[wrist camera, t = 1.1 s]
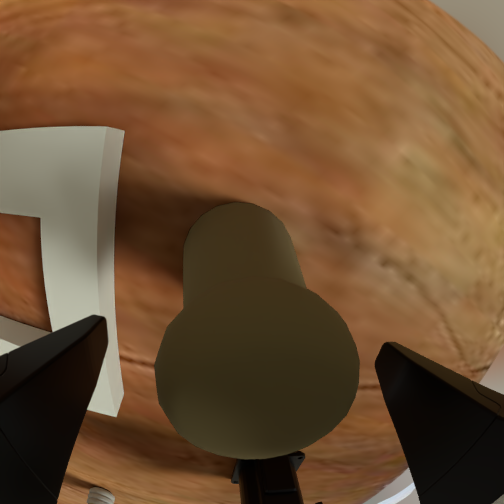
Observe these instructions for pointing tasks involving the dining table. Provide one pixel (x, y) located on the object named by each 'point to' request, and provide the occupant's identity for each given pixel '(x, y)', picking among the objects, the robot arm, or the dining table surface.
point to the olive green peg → (252, 343)
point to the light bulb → (100, 496)
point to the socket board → (68, 231)
